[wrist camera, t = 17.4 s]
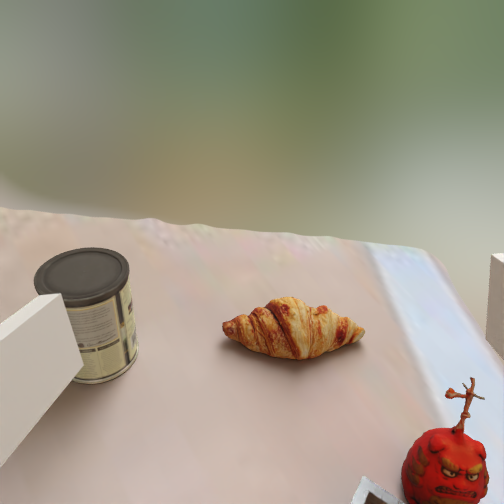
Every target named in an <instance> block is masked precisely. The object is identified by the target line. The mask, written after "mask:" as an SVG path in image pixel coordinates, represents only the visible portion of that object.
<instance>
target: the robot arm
mask: <svg viewBox="0 0 504 504" xmlns="http://www.w3.org/2000/svg"><path fill="white" fill-rule="evenodd" d="M486 340H487V341H488V342H489V344H490V345H491V346H492V347H493V348H494V349H495V350H496V352H497V353H498V354H499V355H500V356H501V357H502V358H503V360H504V253H501V254H492V255H491V265H490V279H489V296H488V309H487V325H486ZM83 366H84V364H83V361H82V358H81V354H80V351H79V348H78V345H77V342H76V339H75V336H74V333H73V330H72V326H71V323H70V320H69V317H68V314H67V311H66V308H65V305H64V302H63V298H62V295H61V293H59V294H48V295H39V296H38V297H36V298H35V299H33V300H32V301H31V302H29V303H28V304H27V305H25V306H24V307H23V308H21V309H20V310H18V311H17V312H16V313H14V314H13V315H12V316H10V317H9V318H7V319H6V320H5V321H3V322H2V323H1V324H0V468H1V466H2V465H3V464H4V463H5V462H6V460H7V459H8V458H9V457H10V455H11V454H12V453H13V452H14V450H15V449H16V448H17V447H18V446H19V444H20V443H21V442H22V441H23V439H24V438H25V437H26V436H27V434H28V433H29V432H30V431H31V430H32V428H33V427H34V426H35V425H36V423H37V422H38V421H39V420H40V418H41V417H42V416H43V415H44V414H45V412H46V411H47V410H48V409H49V407H50V406H51V405H52V404H53V403H54V401H55V400H56V399H57V398H58V396H59V395H60V394H61V393H62V391H63V390H64V389H65V388H66V387H67V385H68V384H69V383H70V382H71V380H72V379H73V378H74V377H75V375H76V374H77V373H78V372H79V371H80V369H81V368H82V367H83Z"/></svg>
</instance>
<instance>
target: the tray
mask: <svg viewBox="0 0 504 504" xmlns="http://www.w3.org/2000/svg"><path fill="white" fill-rule="evenodd" d="M351 504H405V503H404V502H402V501H401V500H399V499H398V498H396V497H395V496H393V495H392V494H390V493H389V492H387V491H386V490H384V489H383V488H381V487H380V486H378V485H377V484H375V483H374V482H372V481H371V480H369V479H368V478H366V477H365V476H363V477H362V479H361V482H360V484H359V486H358V488H357V490H356V493H355V495H354V497H353V499H352V501H351Z"/></svg>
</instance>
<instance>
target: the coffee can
mask: <svg viewBox="0 0 504 504" xmlns="http://www.w3.org/2000/svg"><path fill="white" fill-rule="evenodd" d="M34 286H35V289H36V291H37V293H38V295H48V294H59V293H61V295H62V298H63V302H64V305H65V308H66V311H67V314H68V317H69V320H70V323H71V326H72V330H73V333H74V336H75V339H76V342H77V345H78V348H79V351H80V354H81V358H82V361H83V364H84V366H83V367H82V368H81V369H80V371H79V372H78V373H77V374H76V375H75V377H74V378H73V379H72V380H73V381H75V382H78V383H82V384H96V383H102V382H106V381H109V380H112V379H114V378H116V377H117V376H119V375H121V374H122V373H124V372H125V371H126V370H128V369H129V368H130V367H131V365H132V364H133V363H134V361H135V360H136V357H137V355H138V350H139V346H138V341H137V335H136V327H135V319H134V311H133V304H132V296H131V288H130V281H129V264H128V262H127V260H126V259H125V258H124V257H123V256H122V255H121V254H119V253H118V252H115V251H112V250H109V249H104V248H80V249H75V250H71V251H67V252H64V253H61V254H59V255H57V256H55V257H53V258H51V259H50V260H48V261H47V262H45V263H44V264H43V265H42V266H41V267H40V268H39V269H38V270H37V272H36V274H35V277H34Z"/></svg>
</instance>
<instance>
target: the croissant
mask: <svg viewBox="0 0 504 504" xmlns="http://www.w3.org/2000/svg"><path fill="white" fill-rule="evenodd" d="M222 327H223V331H224V333H225V335H226V336H228V338H231V339H234V340H236V341H238V342H241V343H242V344H243V345H244V346H246V347H247V348H249V349H251V350H252V351H256V352H261V353H266V354H267V355H269V356H272V357H278V358H290V359H298V360H302V359H311V358H315V357H318V356H319V355H321V354H322V353H324V352H325V351H327V352H330V351H332V350H335V349H338V348H339V347H340V346H343V345H344V344H351V343H353V342H356V341H358V340H360V339H361V338H362V337H363V335H364V334H365V330H364V329H363V328H361V327H358V325H357V324H356V323H354V322H353V321H352V320H350V318H348V317H340V316H338V315H337V314H335V313H333V312H332V311H331V310H330V309H328V308H327V306H324V305H323V306H319V307H317V308H313V307H308V306H306V305H305V303H304V302H303V301H301V300H299V299H295V298H293V297H283V298H280V299H274V300H271V301H270V302H269V303H268V304H267V305H266V306H265V307H262V308H261V307H258V308H255V309H254V310H253V311H252V312H251V314H250V315H249V316H247V315H244V314H243V315H240V316H237V317H236V318H234V319H232V320H230V321H228V322H223V326H222Z"/></svg>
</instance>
